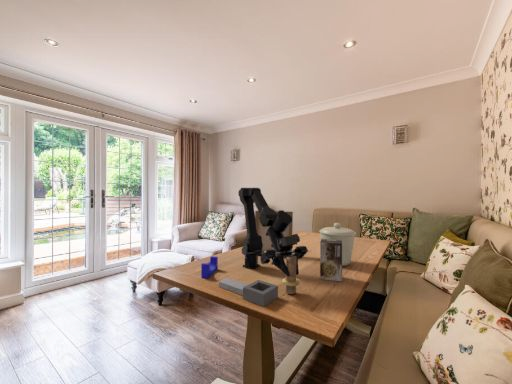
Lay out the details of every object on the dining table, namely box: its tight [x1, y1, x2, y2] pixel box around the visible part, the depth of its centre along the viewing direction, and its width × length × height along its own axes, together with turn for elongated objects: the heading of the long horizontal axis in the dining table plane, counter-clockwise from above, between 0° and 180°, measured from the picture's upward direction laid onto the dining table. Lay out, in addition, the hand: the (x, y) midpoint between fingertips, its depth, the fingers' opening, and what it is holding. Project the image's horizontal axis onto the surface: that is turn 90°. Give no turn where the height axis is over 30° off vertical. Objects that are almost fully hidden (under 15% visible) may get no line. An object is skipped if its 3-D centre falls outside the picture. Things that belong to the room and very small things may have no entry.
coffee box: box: [319, 238, 343, 282], centre depth 104 cm, size 9×6×16 cm
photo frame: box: [254, 210, 294, 255], centre depth 143 cm, size 15×22×25 cm
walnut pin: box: [281, 255, 301, 295], centre depth 89 cm, size 6×6×13 cm
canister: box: [318, 222, 357, 267], centre depth 125 cm, size 18×18×21 cm
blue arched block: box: [200, 255, 219, 279], centre depth 109 cm, size 12×4×6 cm, turn 170°
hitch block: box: [218, 277, 279, 307], centre depth 89 cm, size 9×23×4 cm, turn 53°
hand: (293, 275), depth 87 cm, fingers closed on walnut pin, 4 cm apart
